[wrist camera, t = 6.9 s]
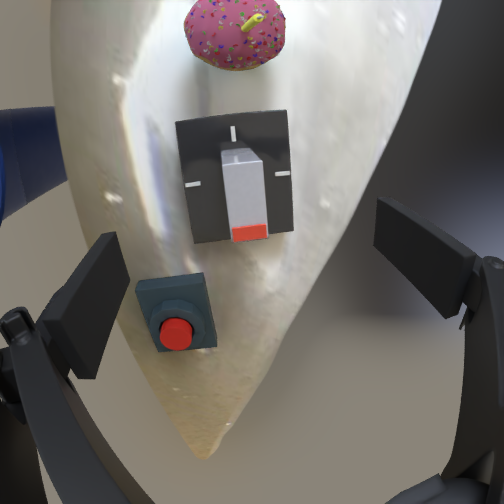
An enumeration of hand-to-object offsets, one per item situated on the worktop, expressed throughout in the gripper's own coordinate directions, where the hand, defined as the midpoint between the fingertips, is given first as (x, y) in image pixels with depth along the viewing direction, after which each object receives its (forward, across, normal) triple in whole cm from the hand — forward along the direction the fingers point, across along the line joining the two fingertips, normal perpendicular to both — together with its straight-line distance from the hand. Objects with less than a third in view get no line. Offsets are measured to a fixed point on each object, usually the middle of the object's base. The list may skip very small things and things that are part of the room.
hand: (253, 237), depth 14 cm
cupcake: (+17, +2, +14) cm, 22 cm away
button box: (+17, -8, -16) cm, 25 cm away
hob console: (+17, 0, 0) cm, 17 cm away
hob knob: (+14, 0, 0) cm, 14 cm away
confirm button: (+13, -9, -16) cm, 23 cm away
